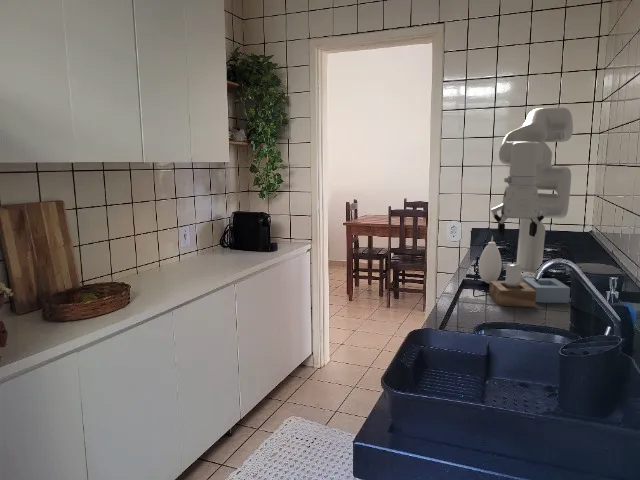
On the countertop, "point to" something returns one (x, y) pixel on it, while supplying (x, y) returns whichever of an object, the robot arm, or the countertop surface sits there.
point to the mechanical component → (526, 275)
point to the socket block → (549, 290)
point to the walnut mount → (512, 294)
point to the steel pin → (513, 276)
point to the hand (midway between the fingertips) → (516, 235)
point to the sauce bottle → (490, 263)
